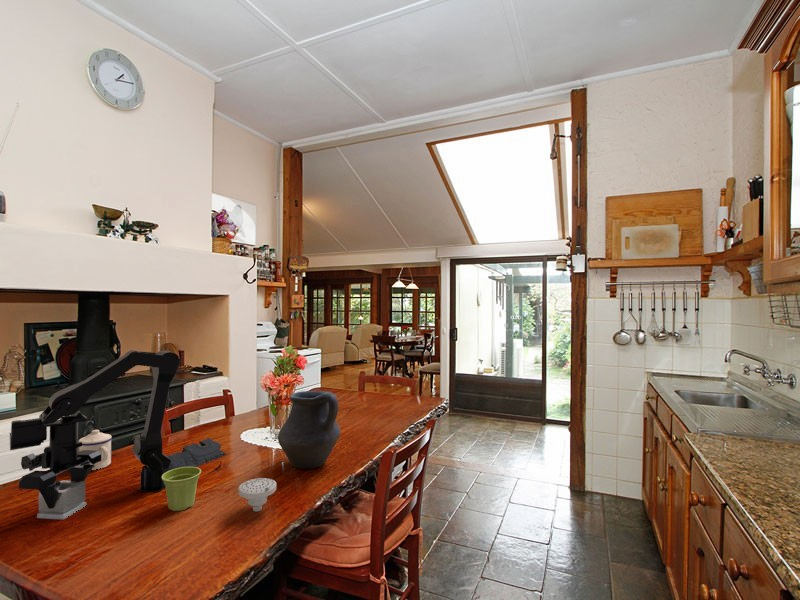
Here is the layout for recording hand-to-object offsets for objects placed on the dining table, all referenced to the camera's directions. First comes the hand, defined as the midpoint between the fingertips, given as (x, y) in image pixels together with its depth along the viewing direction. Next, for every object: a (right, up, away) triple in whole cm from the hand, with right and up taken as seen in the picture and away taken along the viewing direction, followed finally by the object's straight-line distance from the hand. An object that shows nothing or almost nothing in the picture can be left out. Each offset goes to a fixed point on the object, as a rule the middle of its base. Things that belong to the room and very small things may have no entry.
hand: (63, 501), depth 108 cm
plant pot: (+28, -3, +4) cm, 29 cm away
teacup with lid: (-12, -3, +29) cm, 31 cm away
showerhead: (+49, -3, +2) cm, 49 cm away
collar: (0, -1, 0) cm, 1 cm away
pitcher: (+57, -4, +34) cm, 66 cm away
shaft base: (0, -3, 0) cm, 3 cm away
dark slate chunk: (+15, -4, +36) cm, 39 cm away
